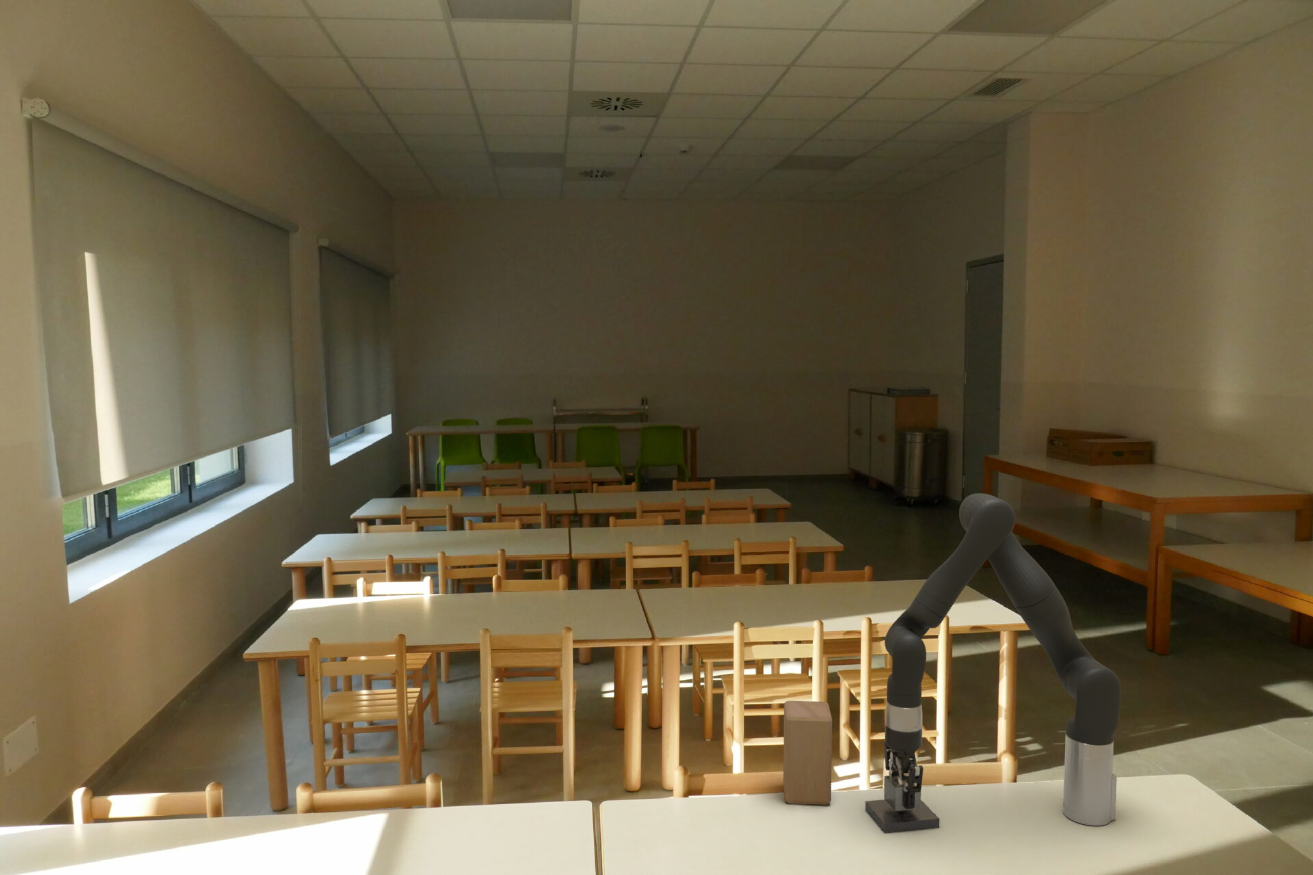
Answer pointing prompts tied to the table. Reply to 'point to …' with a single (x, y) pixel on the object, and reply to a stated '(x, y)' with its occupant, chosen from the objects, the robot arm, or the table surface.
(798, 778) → the wooden block
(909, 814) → the shaft block
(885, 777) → the collar
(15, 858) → the table surface
